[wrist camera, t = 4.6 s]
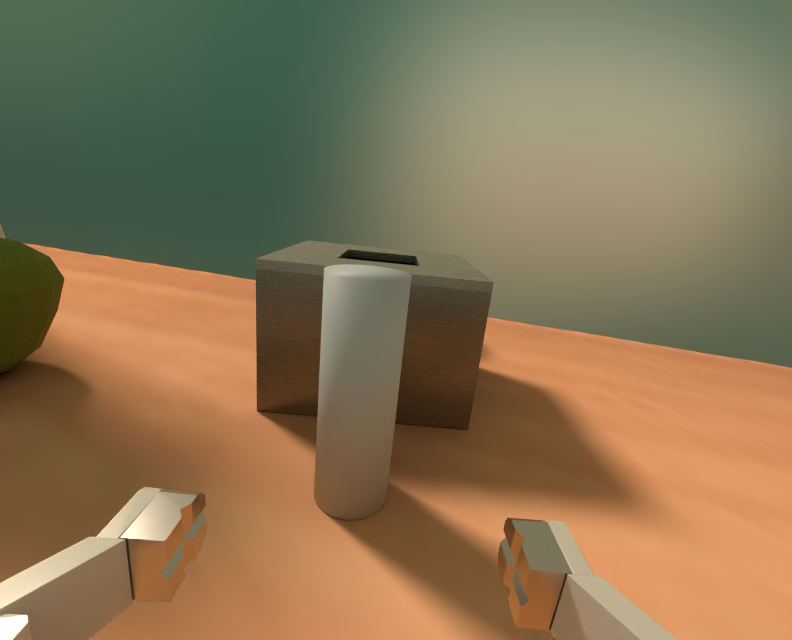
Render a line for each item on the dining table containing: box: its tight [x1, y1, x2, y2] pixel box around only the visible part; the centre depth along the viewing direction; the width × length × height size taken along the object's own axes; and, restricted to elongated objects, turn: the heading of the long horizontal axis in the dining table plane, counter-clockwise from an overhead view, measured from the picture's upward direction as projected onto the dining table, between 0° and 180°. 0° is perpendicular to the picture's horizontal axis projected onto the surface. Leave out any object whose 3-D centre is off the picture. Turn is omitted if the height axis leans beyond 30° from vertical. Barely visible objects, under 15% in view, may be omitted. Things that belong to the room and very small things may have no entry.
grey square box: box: [256, 241, 493, 430], centre depth 30 cm, size 14×13×10 cm
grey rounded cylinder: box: [314, 264, 411, 520], centre depth 17 cm, size 4×4×11 cm
